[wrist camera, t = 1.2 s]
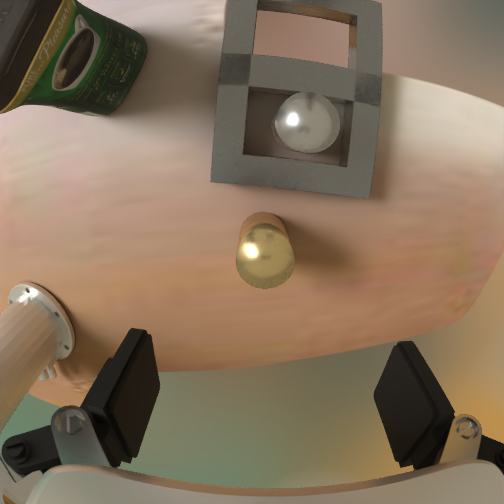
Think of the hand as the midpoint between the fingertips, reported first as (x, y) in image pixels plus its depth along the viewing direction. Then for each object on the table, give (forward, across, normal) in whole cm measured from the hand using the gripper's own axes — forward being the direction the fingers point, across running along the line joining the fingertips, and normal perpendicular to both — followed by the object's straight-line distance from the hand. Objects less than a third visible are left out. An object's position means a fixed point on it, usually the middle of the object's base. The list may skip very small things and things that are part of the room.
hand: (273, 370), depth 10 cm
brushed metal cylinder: (+19, -2, -10) cm, 22 cm away
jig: (+19, -2, -14) cm, 24 cm away
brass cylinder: (+19, 0, +1) cm, 19 cm away
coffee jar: (+19, +17, -16) cm, 30 cm away
